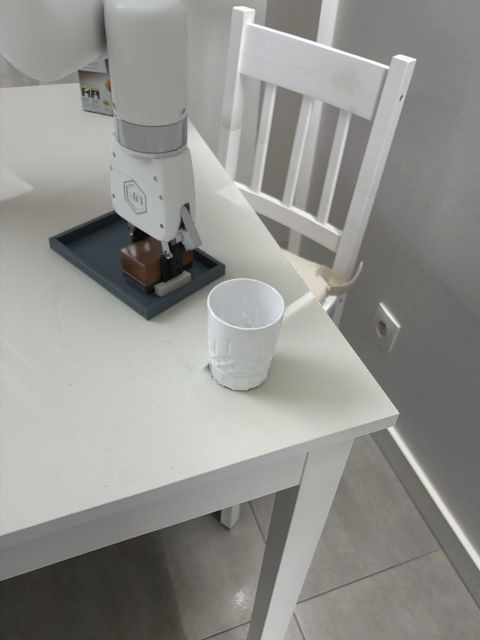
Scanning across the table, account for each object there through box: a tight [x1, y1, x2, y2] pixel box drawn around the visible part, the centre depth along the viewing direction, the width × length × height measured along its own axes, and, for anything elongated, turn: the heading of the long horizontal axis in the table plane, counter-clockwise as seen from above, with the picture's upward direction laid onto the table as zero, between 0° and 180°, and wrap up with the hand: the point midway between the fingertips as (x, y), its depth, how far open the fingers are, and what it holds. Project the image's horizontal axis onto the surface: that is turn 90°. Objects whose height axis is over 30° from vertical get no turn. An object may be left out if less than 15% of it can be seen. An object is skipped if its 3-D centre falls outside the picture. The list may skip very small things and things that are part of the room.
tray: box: [48, 209, 226, 321], centre depth 73 cm, size 19×13×2 cm
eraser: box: [120, 236, 193, 293], centre depth 70 cm, size 4×8×4 cm, turn 139°
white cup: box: [206, 277, 286, 391], centre depth 59 cm, size 8×8×10 cm
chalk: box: [154, 271, 192, 297], centre depth 69 cm, size 1×5×1 cm
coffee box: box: [77, 58, 114, 116], centre depth 102 cm, size 9×6×16 cm
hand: (158, 267), depth 70 cm, fingers closed on eraser, 4 cm apart
